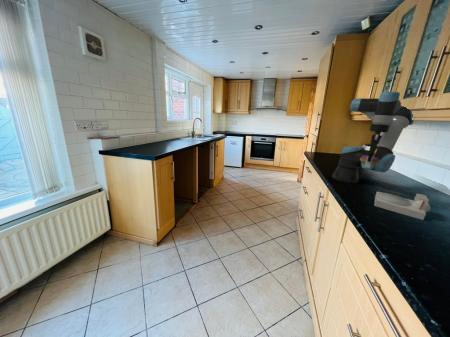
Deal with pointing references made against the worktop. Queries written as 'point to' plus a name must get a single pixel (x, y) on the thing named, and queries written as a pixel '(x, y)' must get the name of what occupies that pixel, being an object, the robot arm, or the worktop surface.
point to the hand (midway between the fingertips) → (367, 165)
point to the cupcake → (374, 161)
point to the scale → (403, 204)
